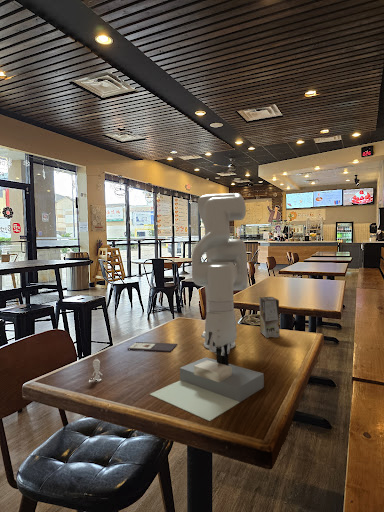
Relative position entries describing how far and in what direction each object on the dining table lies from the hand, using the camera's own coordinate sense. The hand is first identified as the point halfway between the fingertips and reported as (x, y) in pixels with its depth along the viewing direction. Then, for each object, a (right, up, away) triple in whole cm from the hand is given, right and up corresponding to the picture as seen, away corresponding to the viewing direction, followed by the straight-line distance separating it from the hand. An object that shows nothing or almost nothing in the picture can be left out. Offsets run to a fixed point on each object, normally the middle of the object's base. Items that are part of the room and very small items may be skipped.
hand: (222, 367), depth 102 cm
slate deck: (-1, -5, 0) cm, 5 cm away
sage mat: (-9, -6, -9) cm, 14 cm away
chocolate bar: (-25, -4, +36) cm, 44 cm away
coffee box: (+25, -2, +48) cm, 54 cm away
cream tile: (-3, -1, -4) cm, 5 cm away
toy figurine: (-39, -6, +4) cm, 40 cm away
